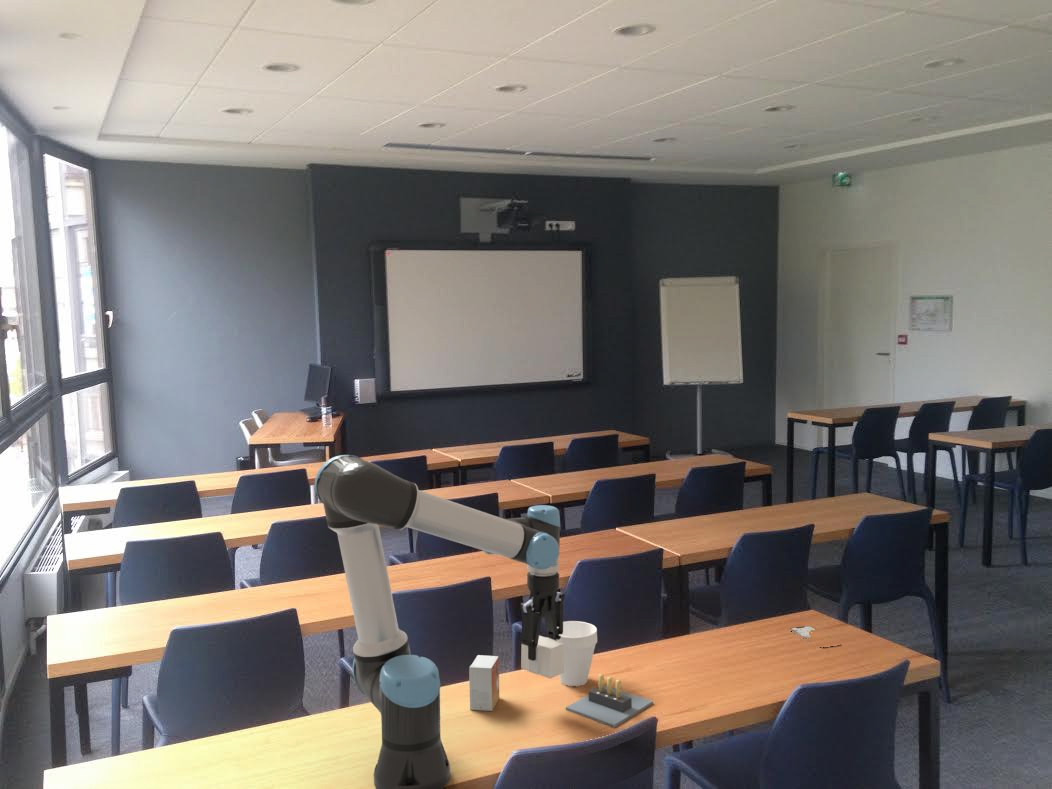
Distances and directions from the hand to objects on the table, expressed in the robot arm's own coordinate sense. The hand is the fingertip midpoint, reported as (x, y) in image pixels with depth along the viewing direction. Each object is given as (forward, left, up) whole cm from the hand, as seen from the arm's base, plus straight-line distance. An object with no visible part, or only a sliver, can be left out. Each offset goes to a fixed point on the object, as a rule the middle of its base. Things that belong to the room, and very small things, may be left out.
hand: (542, 668), depth 196 cm
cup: (+18, +5, -10) cm, 21 cm away
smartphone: (+86, -30, -11) cm, 92 cm away
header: (+12, -11, -10) cm, 19 cm away
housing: (0, 0, 0) cm, 0 cm away
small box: (-6, +13, -10) cm, 18 cm away
